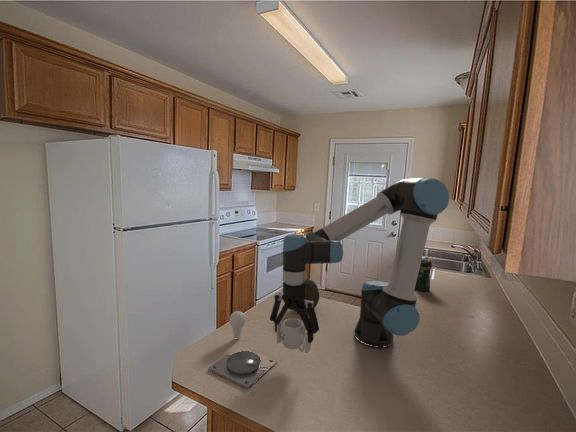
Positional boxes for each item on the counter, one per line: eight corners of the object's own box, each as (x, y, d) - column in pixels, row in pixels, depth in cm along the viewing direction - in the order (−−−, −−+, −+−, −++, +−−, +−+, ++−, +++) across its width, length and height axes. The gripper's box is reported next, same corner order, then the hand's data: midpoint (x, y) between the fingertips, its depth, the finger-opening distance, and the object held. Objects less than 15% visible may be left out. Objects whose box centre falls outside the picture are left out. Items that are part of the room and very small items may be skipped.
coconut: (325, 312, 140) (326, 282, 139) (301, 319, 132) (303, 287, 131) (306, 302, 152) (308, 274, 150) (284, 307, 144) (285, 278, 142)
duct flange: (277, 362, 99) (277, 357, 99) (247, 389, 86) (247, 383, 85) (240, 347, 107) (240, 342, 107) (207, 370, 94) (208, 364, 93)
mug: (275, 342, 101) (276, 320, 101) (297, 336, 105) (297, 315, 105) (292, 360, 91) (292, 336, 90) (315, 353, 95) (316, 330, 94)
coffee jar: (431, 290, 178) (434, 260, 176) (424, 292, 174) (427, 262, 172) (417, 285, 186) (419, 257, 184) (409, 287, 182) (412, 258, 180)
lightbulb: (227, 336, 115) (228, 309, 114) (242, 333, 117) (243, 307, 116) (230, 344, 109) (231, 316, 108) (246, 341, 112) (247, 313, 111)
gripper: (331, 284, 94) (329, 350, 96) (271, 273, 105) (271, 332, 107) (321, 292, 87) (319, 362, 90) (259, 278, 99) (259, 341, 101)
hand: (293, 346), depth 98 cm, fingers closed on mug, 10 cm apart
